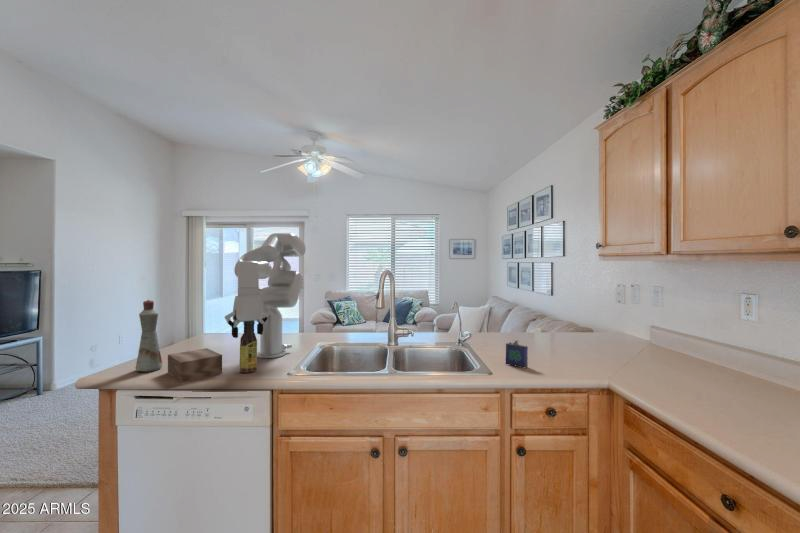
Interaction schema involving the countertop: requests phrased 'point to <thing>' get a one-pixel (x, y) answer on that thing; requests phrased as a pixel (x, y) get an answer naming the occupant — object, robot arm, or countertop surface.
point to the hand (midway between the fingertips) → (247, 335)
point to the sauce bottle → (248, 348)
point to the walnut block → (194, 364)
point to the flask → (516, 354)
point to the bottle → (148, 340)
